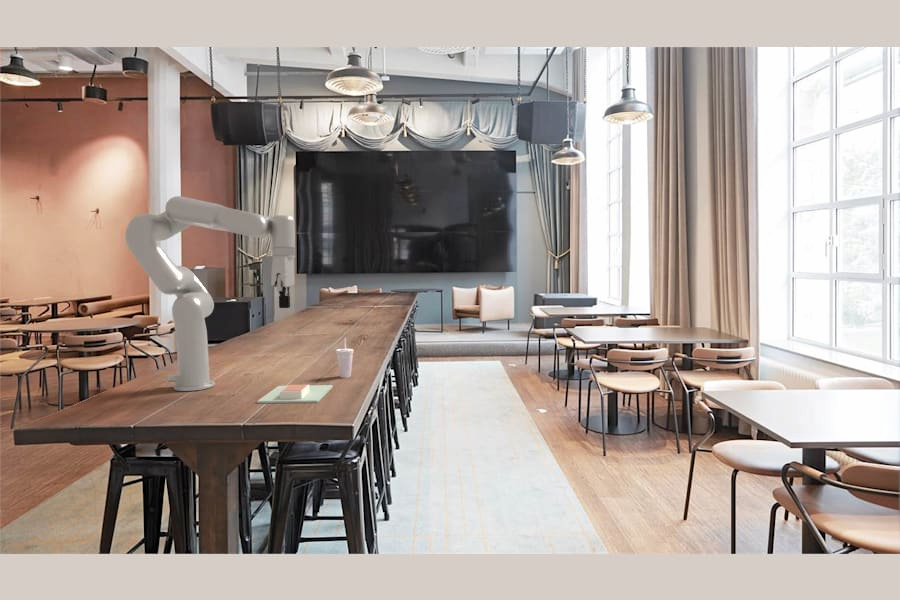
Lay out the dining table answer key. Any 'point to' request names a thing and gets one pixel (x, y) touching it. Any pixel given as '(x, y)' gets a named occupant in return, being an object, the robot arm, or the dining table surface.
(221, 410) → the dining table surface
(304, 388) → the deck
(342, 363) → the smoothie
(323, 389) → the mat
